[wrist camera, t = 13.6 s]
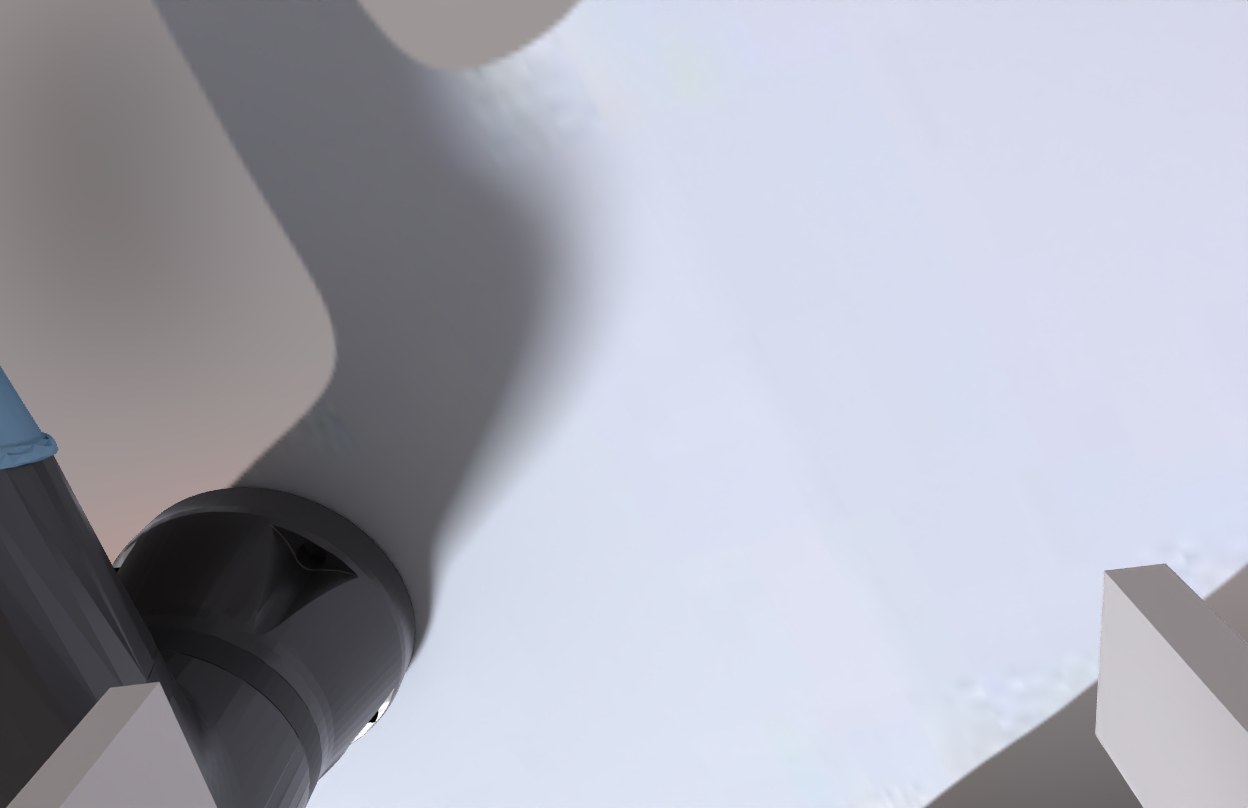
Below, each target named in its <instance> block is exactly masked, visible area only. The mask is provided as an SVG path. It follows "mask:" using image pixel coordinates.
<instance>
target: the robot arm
mask: <svg viewBox="0 0 1248 808" xmlns="http://www.w3.org/2000/svg"><path fill="white" fill-rule="evenodd" d="M57 451H58V447H57V444H56V442H55V440H54V439H53V438H52V437H51V436H50V435H48V434H47V433H44V432H41V430H40V429H39V427H38V425H37V424H36V422H35V421H34V419H33V417H32V416H31V414H30V413H29V411H28V409H27V408H26V406H25V405H24V403H23V401H22V400H21V398H20V397H19V395H18V393H17V392H16V390H15V389H14V387H13V385H12V384H11V382H10V381H9V379H8V377H7V376H6V374H5V373H4V371H3V369H2V368H1V366H0V808H305V807H306V805H307V803H308V801H309V799H310V797H311V794H312V792H313V790H314V788H315V786H316V784H317V782H318V780H319V779H320V778H321V777H322V776H323V775H324V774H325V773H326V772H327V771H328V770H329V769H330V768H331V767H332V766H333V765H334V764H335V763H336V762H337V761H338V760H339V759H340V758H341V756H342V755H343V754H344V753H345V751H346V750H347V748H348V747H349V745H350V744H352V743H353V742H355V741H356V740H358V739H359V738H360V737H362V736H363V735H364V734H365V733H366V732H368V731H369V730H370V729H371V728H372V727H373V726H374V725H375V724H376V723H377V722H378V721H379V720H380V718H381V717H382V716H383V715H384V713H385V712H386V711H387V709H388V707H389V706H390V704H391V703H392V701H393V700H394V698H395V696H396V694H397V692H398V689H399V687H400V684H401V682H402V680H403V677H404V675H405V672H406V670H407V667H408V665H409V663H410V659H411V656H412V652H413V647H414V640H415V622H414V615H413V609H412V605H411V601H410V598H409V595H408V592H407V590H406V588H405V585H404V583H403V581H402V579H401V577H400V575H399V573H398V572H397V570H396V569H395V567H394V566H393V564H392V563H391V561H390V560H389V559H388V557H387V556H386V555H385V554H384V552H383V551H382V550H381V549H380V548H379V547H378V546H377V545H376V544H375V543H374V542H373V540H372V539H370V538H369V537H368V536H367V535H366V534H365V533H364V532H363V531H361V530H360V529H359V528H357V527H356V526H355V525H354V524H352V523H351V522H349V521H348V520H346V519H345V518H343V517H342V516H340V515H338V514H337V513H335V512H333V511H331V510H329V509H327V508H326V507H323V506H321V505H319V504H317V503H315V502H312V501H309V500H307V499H304V498H301V497H298V496H295V495H291V494H288V493H283V492H279V491H273V490H268V489H258V488H229V489H220V490H214V491H209V492H205V493H201V494H198V495H195V496H192V497H189V498H187V499H185V500H182V501H180V502H178V503H176V504H174V505H173V506H171V507H170V508H168V509H167V510H165V511H163V512H162V513H161V514H160V515H158V516H157V517H156V518H155V519H154V520H153V521H152V522H151V523H149V525H147V526H146V527H145V528H144V529H143V530H142V531H141V532H140V533H139V534H138V535H136V536H135V537H134V538H133V539H132V540H131V541H130V542H129V543H128V545H126V547H125V548H124V549H123V550H122V552H121V553H120V554H119V556H118V557H117V558H116V560H115V561H114V563H113V565H112V564H111V562H110V560H109V559H108V557H107V555H106V553H105V551H104V549H103V547H102V545H101V543H100V542H99V540H98V538H97V536H96V534H95V532H94V530H93V528H92V527H91V525H90V523H89V521H88V519H87V517H86V515H85V513H84V512H83V510H82V508H81V506H80V504H79V502H78V500H77V499H76V497H75V495H74V493H73V491H72V489H71V487H70V485H69V483H68V481H67V480H66V478H65V476H64V474H63V472H62V470H61V468H60V466H59V465H58V463H57V461H56V459H55V457H54V454H56V453H57ZM1095 735H1096V736H1097V738H1098V739H1099V741H1100V742H1101V744H1102V745H1103V747H1104V748H1105V750H1106V751H1107V753H1108V754H1109V756H1110V757H1111V759H1112V760H1113V762H1114V763H1115V765H1116V766H1117V768H1118V770H1119V771H1120V773H1121V774H1122V776H1123V777H1124V779H1125V780H1126V782H1127V783H1128V785H1129V786H1130V788H1131V789H1132V791H1133V792H1134V794H1135V795H1136V797H1137V798H1138V800H1139V801H1140V803H1141V804H1142V806H1143V808H1248V644H1247V643H1246V642H1245V641H1244V640H1243V639H1242V638H1241V637H1240V636H1239V635H1238V634H1237V633H1236V632H1235V631H1234V630H1233V629H1232V628H1231V627H1230V626H1229V625H1228V624H1227V623H1226V622H1225V621H1224V620H1223V619H1222V618H1221V617H1220V616H1219V615H1217V613H1216V612H1215V611H1213V609H1212V608H1210V607H1209V606H1208V605H1207V604H1206V603H1205V602H1204V601H1203V600H1202V599H1201V598H1200V597H1199V596H1198V595H1197V594H1196V593H1195V592H1194V591H1193V590H1192V589H1191V588H1190V587H1189V586H1188V585H1187V584H1186V583H1185V582H1184V581H1183V580H1182V579H1181V578H1180V577H1179V576H1178V575H1177V574H1176V573H1175V572H1174V571H1173V570H1172V569H1171V568H1170V567H1169V566H1168V565H1167V564H1158V565H1149V566H1141V567H1132V568H1124V569H1115V570H1107V571H1104V584H1103V602H1102V621H1101V639H1100V658H1099V676H1098V695H1097V713H1096V731H1095Z"/></svg>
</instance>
